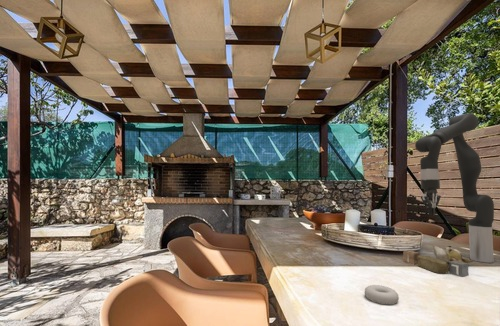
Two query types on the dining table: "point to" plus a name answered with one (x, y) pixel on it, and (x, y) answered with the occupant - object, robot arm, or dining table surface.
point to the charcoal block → (458, 268)
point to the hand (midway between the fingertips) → (431, 215)
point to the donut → (381, 294)
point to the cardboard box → (410, 257)
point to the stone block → (433, 264)
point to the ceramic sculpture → (449, 254)
